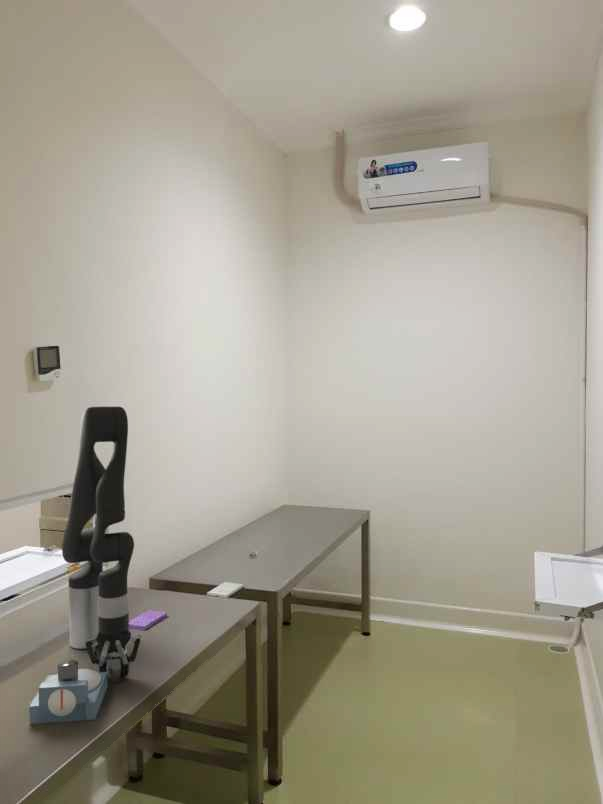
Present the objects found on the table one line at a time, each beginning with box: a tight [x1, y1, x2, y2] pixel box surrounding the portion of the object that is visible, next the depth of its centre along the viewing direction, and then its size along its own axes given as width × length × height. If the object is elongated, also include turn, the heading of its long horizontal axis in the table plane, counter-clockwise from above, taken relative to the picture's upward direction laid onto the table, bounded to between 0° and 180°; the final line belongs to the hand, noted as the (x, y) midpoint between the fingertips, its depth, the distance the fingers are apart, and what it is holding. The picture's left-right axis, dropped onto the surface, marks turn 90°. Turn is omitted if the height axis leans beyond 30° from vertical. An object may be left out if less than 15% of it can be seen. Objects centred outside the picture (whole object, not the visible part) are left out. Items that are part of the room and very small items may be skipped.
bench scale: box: [29, 668, 108, 725], centre depth 146 cm, size 16×14×8 cm
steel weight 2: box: [105, 652, 124, 685], centre depth 159 cm, size 4×4×6 cm
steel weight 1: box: [57, 659, 79, 682], centre depth 144 cm, size 4×4×6 cm
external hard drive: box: [206, 581, 244, 599], centre depth 226 cm, size 2×8×12 cm
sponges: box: [129, 609, 168, 631], centre depth 198 cm, size 7×13×2 cm, turn 159°
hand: (114, 677), depth 159 cm, fingers closed on steel weight 2, 4 cm apart
